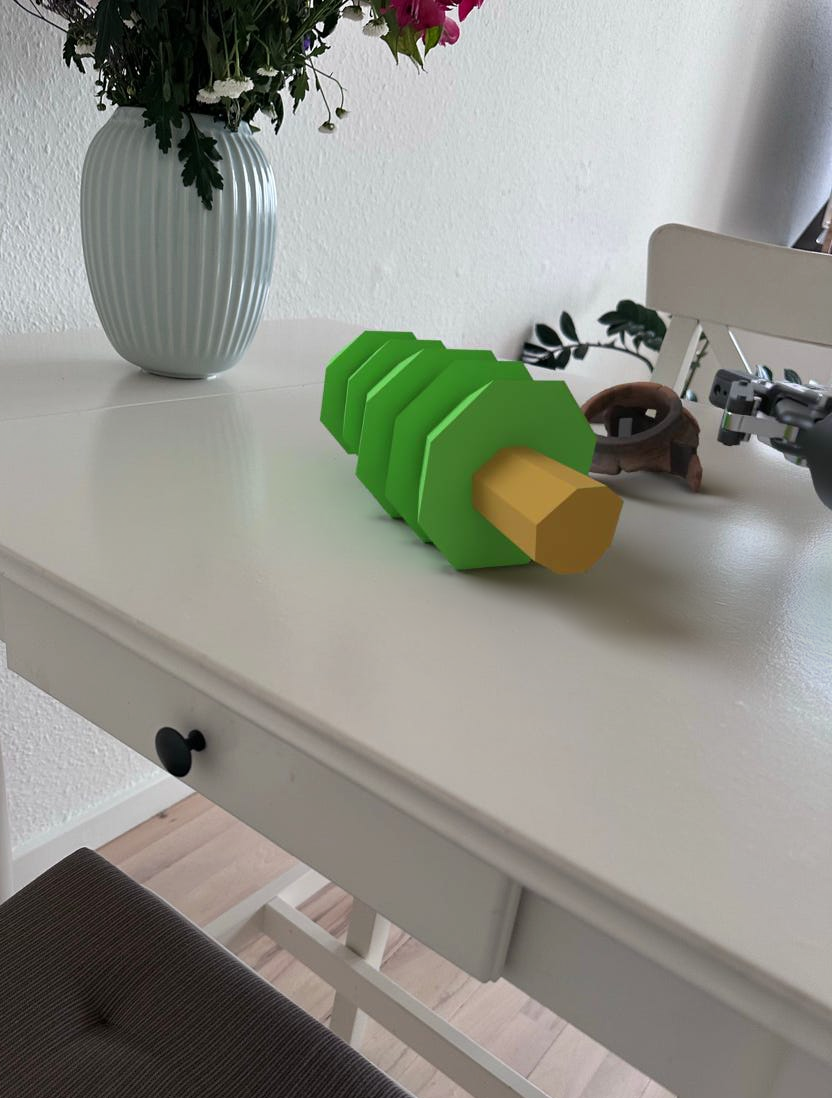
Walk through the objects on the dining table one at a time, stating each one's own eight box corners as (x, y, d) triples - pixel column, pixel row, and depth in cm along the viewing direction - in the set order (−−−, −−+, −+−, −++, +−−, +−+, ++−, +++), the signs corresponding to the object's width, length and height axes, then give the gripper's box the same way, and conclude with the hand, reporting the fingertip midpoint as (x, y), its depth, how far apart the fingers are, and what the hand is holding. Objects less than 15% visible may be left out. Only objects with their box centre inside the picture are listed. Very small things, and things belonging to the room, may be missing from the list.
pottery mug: (727, 516, 68) (718, 419, 62) (595, 557, 69) (576, 467, 64) (671, 427, 77) (659, 336, 71) (555, 466, 78) (535, 380, 73)
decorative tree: (569, 374, 40) (303, 247, 63) (436, 605, 44) (229, 405, 67) (722, 465, 47) (430, 320, 70) (596, 661, 50) (357, 461, 73)
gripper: (803, 545, 46) (617, 440, 61) (1010, 544, 50) (789, 446, 64) (858, 388, 43) (647, 316, 57) (1075, 400, 47) (826, 331, 61)
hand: (722, 385), depth 61 cm, fingers closed
